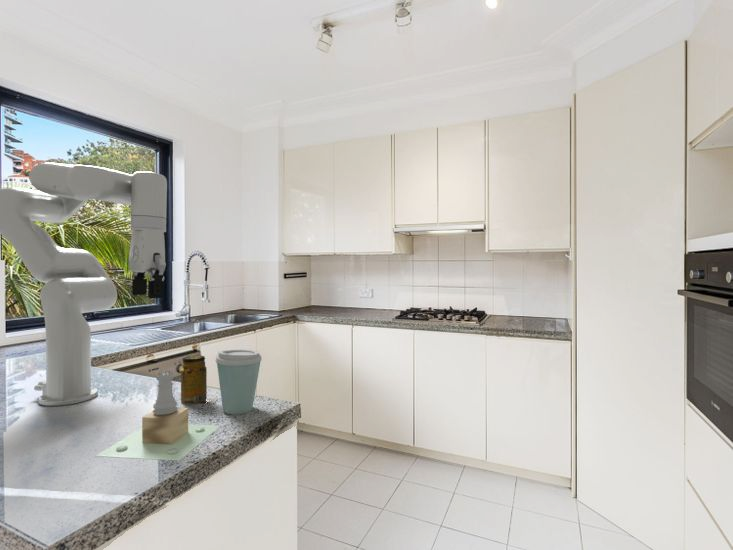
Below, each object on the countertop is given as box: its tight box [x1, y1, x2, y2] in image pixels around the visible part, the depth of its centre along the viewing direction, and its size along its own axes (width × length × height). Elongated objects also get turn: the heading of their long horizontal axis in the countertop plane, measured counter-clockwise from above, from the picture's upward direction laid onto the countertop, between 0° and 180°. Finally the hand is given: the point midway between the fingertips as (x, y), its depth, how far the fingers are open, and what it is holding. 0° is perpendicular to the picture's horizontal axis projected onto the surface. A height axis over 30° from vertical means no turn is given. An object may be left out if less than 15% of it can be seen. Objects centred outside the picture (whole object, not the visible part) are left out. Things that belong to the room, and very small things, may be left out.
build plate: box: [94, 423, 221, 462], centre depth 81 cm, size 16×16×1 cm
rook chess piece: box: [152, 370, 178, 416], centre depth 82 cm, size 4×4×8 cm
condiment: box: [180, 354, 219, 406], centre depth 104 cm, size 7×8×12 cm
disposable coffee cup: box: [215, 349, 263, 415], centre depth 98 cm, size 11×11×15 cm
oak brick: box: [141, 406, 189, 444], centre depth 82 cm, size 6×6×5 cm
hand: (147, 296), depth 98 cm, fingers open, 9 cm apart
